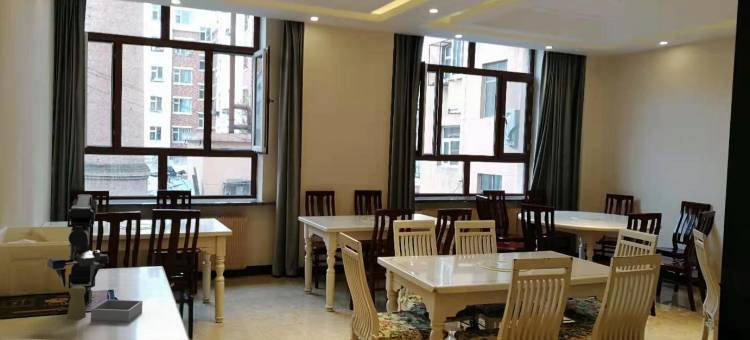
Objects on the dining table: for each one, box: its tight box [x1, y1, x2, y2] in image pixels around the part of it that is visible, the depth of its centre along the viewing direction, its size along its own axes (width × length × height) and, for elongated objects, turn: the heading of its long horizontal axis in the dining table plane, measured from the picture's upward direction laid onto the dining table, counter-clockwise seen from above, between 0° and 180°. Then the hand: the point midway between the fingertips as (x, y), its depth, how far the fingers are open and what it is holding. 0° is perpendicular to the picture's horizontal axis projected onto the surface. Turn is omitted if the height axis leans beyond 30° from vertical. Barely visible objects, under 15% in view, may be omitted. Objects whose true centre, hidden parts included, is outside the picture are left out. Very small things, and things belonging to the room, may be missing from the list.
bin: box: [90, 299, 143, 324], centre depth 200 cm, size 13×13×4 cm
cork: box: [66, 286, 87, 320], centre depth 197 cm, size 6×6×11 cm
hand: (78, 285), depth 197 cm, fingers open, 9 cm apart
